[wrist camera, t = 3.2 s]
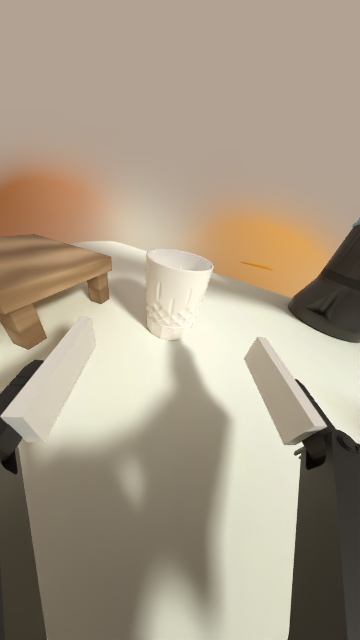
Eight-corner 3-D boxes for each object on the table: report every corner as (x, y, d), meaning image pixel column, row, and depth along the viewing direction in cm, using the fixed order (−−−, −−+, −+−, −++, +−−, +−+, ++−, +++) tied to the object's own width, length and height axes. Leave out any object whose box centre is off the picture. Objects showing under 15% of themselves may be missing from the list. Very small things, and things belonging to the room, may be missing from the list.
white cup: (130, 326, 23) (130, 252, 17) (162, 305, 29) (171, 246, 23) (178, 353, 20) (197, 277, 14) (202, 324, 26) (222, 263, 20)
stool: (113, 298, 27) (110, 256, 23) (27, 354, 16) (-8, 293, 12) (47, 276, 29) (33, 234, 25) (-72, 312, 18) (-129, 247, 14)
